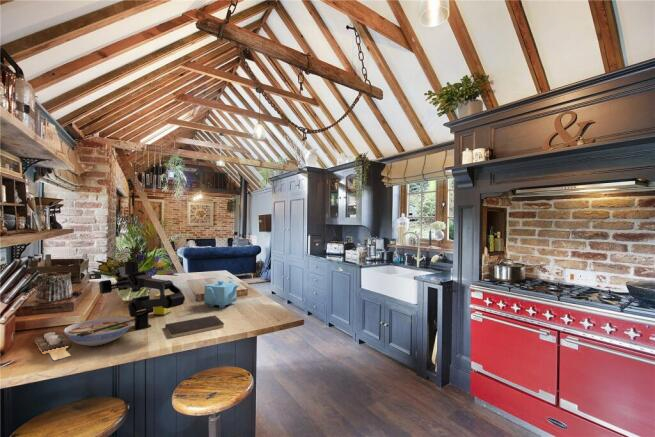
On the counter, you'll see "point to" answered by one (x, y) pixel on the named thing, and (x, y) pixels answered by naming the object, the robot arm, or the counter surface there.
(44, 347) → the button board
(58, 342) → the button
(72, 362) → the counter surface
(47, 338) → the button
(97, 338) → the ramen bowl
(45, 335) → the button
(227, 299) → the teakettle
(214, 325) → the hardcover book
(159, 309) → the supplement box
